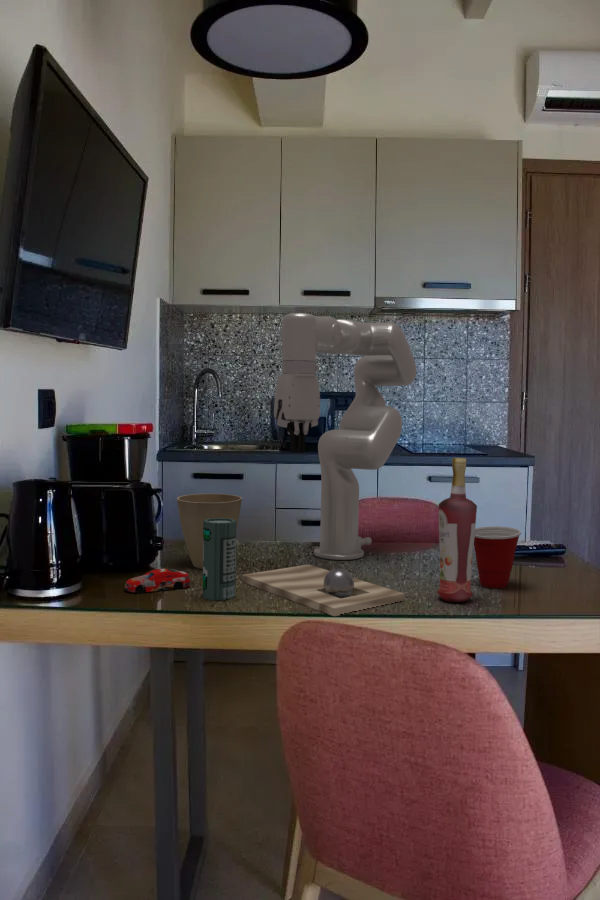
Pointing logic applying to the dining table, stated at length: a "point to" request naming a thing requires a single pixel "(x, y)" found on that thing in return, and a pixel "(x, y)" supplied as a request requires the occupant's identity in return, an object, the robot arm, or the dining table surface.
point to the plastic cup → (495, 554)
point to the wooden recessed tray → (320, 590)
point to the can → (219, 558)
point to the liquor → (456, 538)
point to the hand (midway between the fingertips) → (297, 452)
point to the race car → (158, 581)
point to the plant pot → (204, 518)
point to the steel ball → (338, 583)
